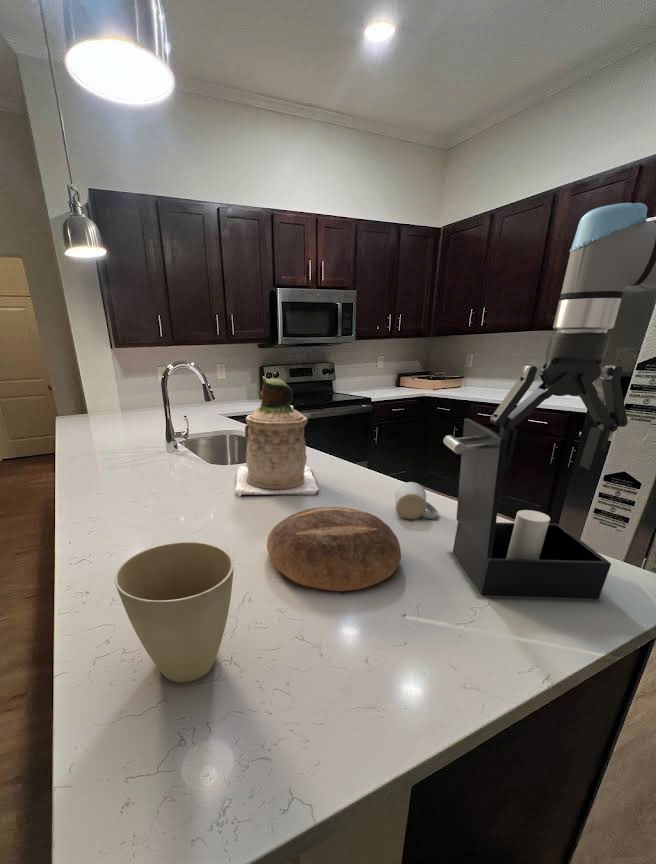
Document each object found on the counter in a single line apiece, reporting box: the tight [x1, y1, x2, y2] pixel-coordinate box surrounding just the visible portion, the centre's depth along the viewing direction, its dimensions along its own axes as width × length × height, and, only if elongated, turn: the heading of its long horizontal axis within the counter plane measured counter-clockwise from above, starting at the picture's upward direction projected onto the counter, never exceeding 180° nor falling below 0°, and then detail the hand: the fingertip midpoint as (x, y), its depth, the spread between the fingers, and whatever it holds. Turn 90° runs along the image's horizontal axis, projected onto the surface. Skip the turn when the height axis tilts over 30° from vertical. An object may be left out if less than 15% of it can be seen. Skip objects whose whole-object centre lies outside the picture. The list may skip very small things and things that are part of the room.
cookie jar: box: [234, 376, 319, 498], centre depth 124 cm, size 25×25×32 cm
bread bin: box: [452, 521, 612, 600], centre depth 78 cm, size 20×16×8 cm
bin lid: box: [442, 417, 506, 558], centre depth 74 cm, size 20×16×6 cm
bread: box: [266, 506, 402, 592], centre depth 85 cm, size 26×27×10 cm
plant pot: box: [114, 541, 235, 683], centre depth 57 cm, size 15×15×16 cm
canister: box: [506, 509, 551, 560], centre depth 77 cm, size 5×5×12 cm
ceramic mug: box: [394, 481, 439, 520], centre depth 105 cm, size 11×8×8 cm
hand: (544, 467), depth 71 cm, fingers open, 13 cm apart
